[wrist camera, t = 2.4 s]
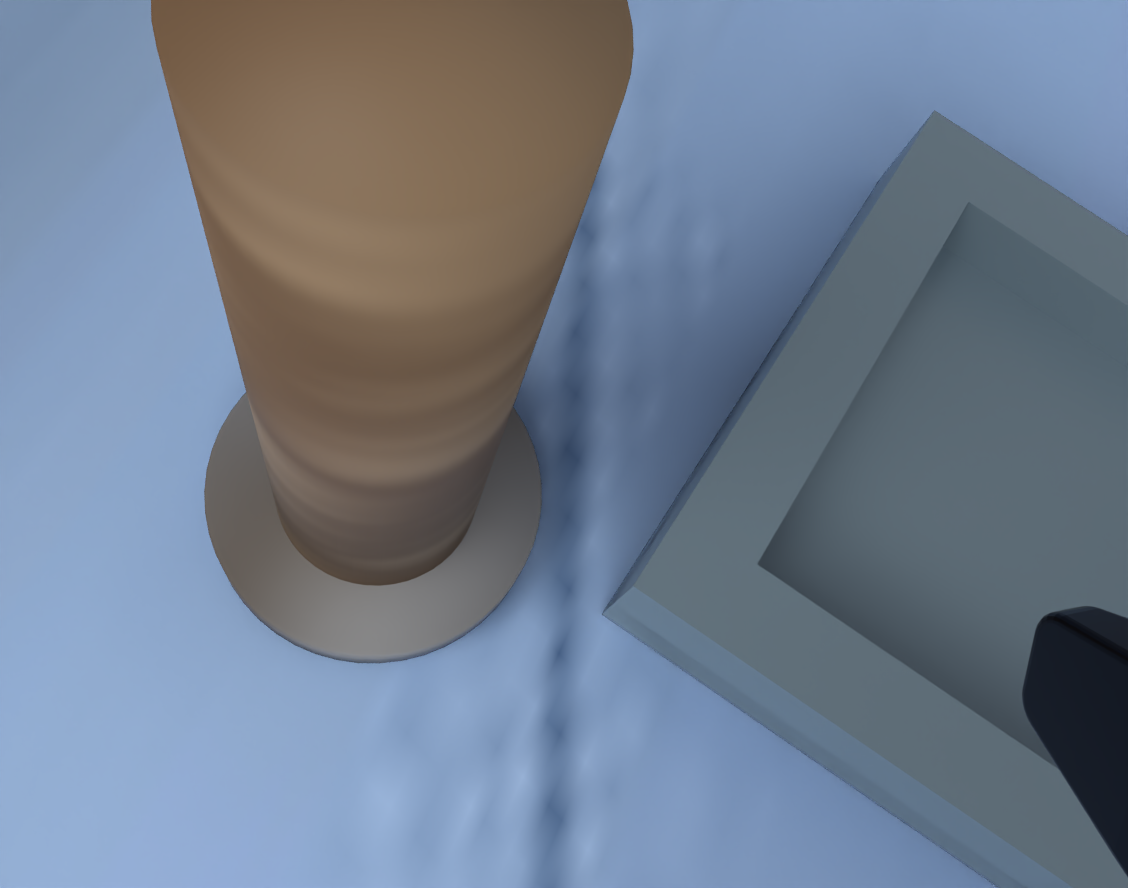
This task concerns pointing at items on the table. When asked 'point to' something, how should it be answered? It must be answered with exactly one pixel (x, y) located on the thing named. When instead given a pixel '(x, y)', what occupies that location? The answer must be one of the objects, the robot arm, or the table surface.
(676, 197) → the table surface
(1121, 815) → the robot arm
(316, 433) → the wooden post on disc
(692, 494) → the tray
